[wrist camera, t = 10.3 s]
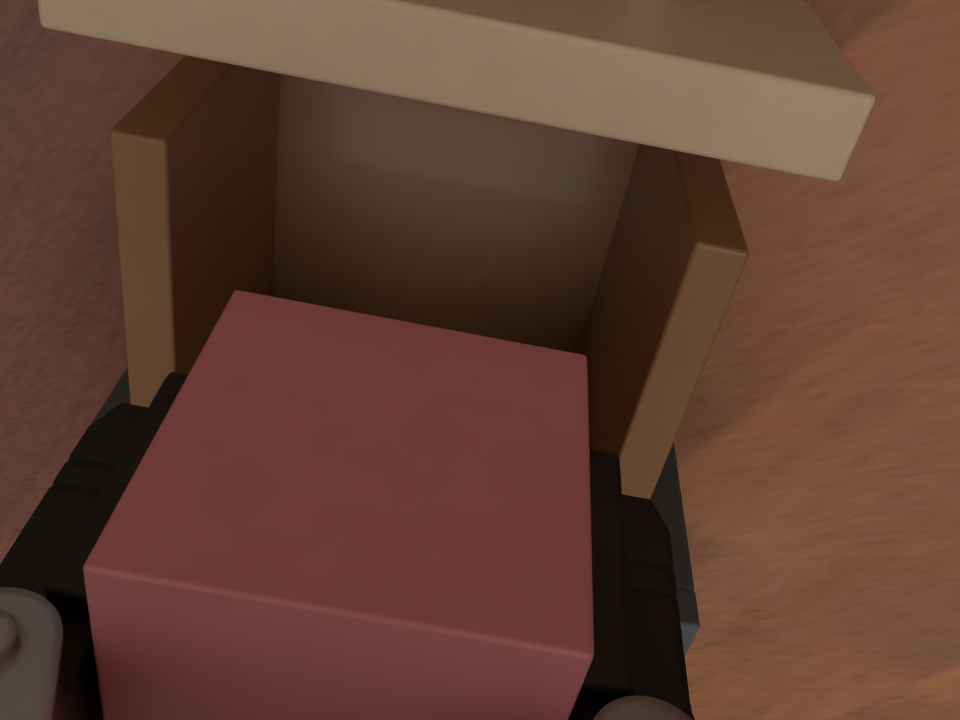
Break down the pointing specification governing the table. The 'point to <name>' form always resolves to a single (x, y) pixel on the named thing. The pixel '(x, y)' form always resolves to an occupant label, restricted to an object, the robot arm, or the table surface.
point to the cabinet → (663, 499)
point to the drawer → (467, 173)
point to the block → (352, 529)
